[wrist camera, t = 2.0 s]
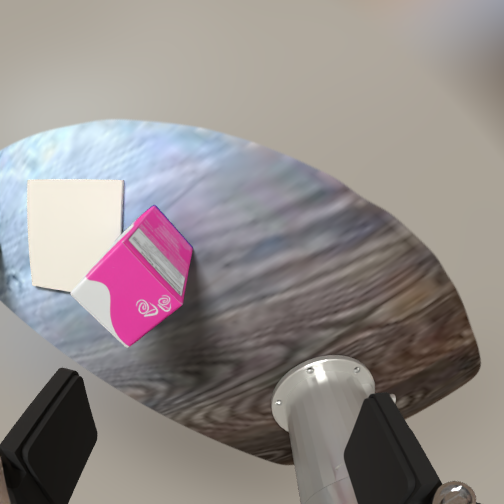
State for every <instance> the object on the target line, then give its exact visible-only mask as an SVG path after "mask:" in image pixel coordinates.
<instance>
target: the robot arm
mask: <svg viewBox="0 0 504 504" xmlns="http://www.w3.org/2000/svg"><path fill="white" fill-rule="evenodd" d="M395 402H396V397H395V395H394V394H392V395H389V393H387V392H386V393H375V383H374V380H373V377H372V375H371V373H370V371H369V370H368V369H367V368H366V366H365V365H364V364H362V363H361V362H359V361H358V360H356V359H353V358H351V357H347V356H341V355H328V356H321V357H317V358H314V359H310V360H308V361H306V362H303V363H301V364H299V365H297V366H296V367H294V368H293V369H291V370H290V371H289V372H288V373H287V374H285V375H284V376H283V377H282V378H281V380H280V381H279V382H278V384H277V385H276V387H275V389H274V391H273V394H272V399H271V407H272V413H273V416H274V418H275V421H276V422H277V423H278V424H279V426H280V427H282V428H283V429H284V430H286V431H288V432H289V435H290V441H291V447H292V453H293V459H294V465H295V471H296V477H297V483H298V490H299V496H300V502H301V504H480V503H477V502H476V495H475V493H474V491H473V489H472V488H471V487H470V486H468V485H467V484H465V483H463V482H459V481H450V482H447V483H444V484H442V483H441V481H440V479H439V477H438V475H437V474H436V472H435V470H434V468H433V467H432V465H431V463H430V461H429V459H428V458H427V456H426V454H425V452H424V451H423V449H422V448H421V445H420V444H419V442H418V440H417V439H416V437H415V435H414V433H413V432H412V430H411V429H410V428H409V426H408V425H407V423H406V421H405V420H404V418H403V416H402V415H401V413H400V411H399V409H398V408H397V406H396V404H395ZM96 441H97V430H96V427H95V423H94V420H93V417H92V413H91V409H90V405H89V402H88V398H87V394H86V390H85V386H84V382H83V378H82V377H81V376H79V374H78V372H76V371H73V370H70V369H66V368H60V369H58V371H57V372H56V373H55V374H54V376H53V377H52V378H51V379H50V381H49V382H48V383H47V384H46V385H45V387H44V388H43V389H42V390H41V391H40V393H39V394H38V395H37V396H36V398H35V399H34V400H33V402H32V403H31V404H30V405H29V407H28V408H27V409H26V411H25V412H24V413H23V414H22V416H21V417H20V419H19V420H18V421H17V422H16V424H15V425H14V426H13V428H12V429H11V430H10V432H9V433H8V434H7V436H6V437H5V438H4V440H3V441H2V443H1V444H0V504H68V502H69V500H70V498H71V496H72V493H73V491H74V489H75V486H76V484H77V482H78V480H79V478H80V475H81V473H82V471H83V469H84V467H85V464H86V462H87V460H88V458H89V456H90V454H91V452H92V449H93V447H94V445H95V443H96Z"/></svg>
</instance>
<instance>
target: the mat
mask: <svg viewBox="0 0 504 504" xmlns="http://www.w3.org/2000/svg"><path fill="white" fill-rule="evenodd" d="M123 191H124V180H90V179H43V180H28V183H27V219H28V242H29V256H30V267H31V276H32V285H33V286H39V287H44V288H50V289H56V290H62V291H68V292H71V291H72V290H73V289H74V288H75V287H76V285H77V284H78V283H79V282H80V281H81V279H82V278H83V277H84V276H85V275H86V274H87V272H88V271H89V270H90V269H91V268H92V267H93V266H94V264H95V263H96V262H97V261H98V260H99V259H100V258H101V257H102V255H103V254H104V253H105V252H106V251H107V250H108V249H109V248H110V246H111V245H112V244H113V243H114V242H115V240H116V239H117V238H118V237H119V236H120V235H121V234H122V220H123Z"/></svg>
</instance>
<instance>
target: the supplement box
mask: <svg viewBox="0 0 504 504" xmlns="http://www.w3.org/2000/svg"><path fill="white" fill-rule="evenodd" d="M192 251H193V247H192V246H191V245H190V244H189V243H188V241H187V240H186V239H185V238H184V237H183V236H182V235H181V234H180V232H179V231H178V230H177V229H176V228H175V227H174V225H173V224H172V223H171V222H170V221H169V220H168V219H167V218H166V216H165V215H164V214H163V213H162V212H161V211H160V210H159V209H158V207H157V206H156V205H153V206H152V207H150V208H149V209H148V210H147V211H146V212H144V213H143V214H142V215H141V216H140V217H139V218H138V219H137V220H136V221H135V222H133V223H132V224H131V225H130V226H129V227H128V228H127V229H126V230H125V231H124V232H123V233H122V234H121V235H120V236H119V237H118V238H117V239H116V240H115V242H114V243H113V244H112V245H111V246H110V248H109V249H108V250H107V251H106V252H105V253H104V254H103V255H102V257H101V258H100V259H99V260H98V261H97V262H96V263H95V264H94V266H93V267H92V268H91V269H90V270H89V271H88V272H87V274H86V275H85V276H84V277H83V278H82V279H81V281H80V282H79V283H78V284H77V285H76V287H75V288H74V289H73V290H72V291H71V295H72V296H73V297H74V298H75V299H76V300H77V301H78V302H79V303H80V304H81V305H82V306H83V307H84V308H85V309H86V310H87V311H88V312H89V313H90V314H91V315H92V316H93V317H94V318H95V319H96V320H97V321H99V322H100V323H101V324H102V325H103V326H104V327H105V328H106V329H107V330H108V331H109V332H110V333H111V334H112V335H113V336H114V337H115V338H117V339H118V340H119V341H120V342H121V343H122V344H123V345H124V346H125V347H127V348H129V347H130V346H131V345H133V344H134V343H135V342H136V341H138V340H139V339H140V338H142V337H143V336H144V335H145V334H147V333H148V332H149V331H150V330H152V329H153V328H154V327H155V326H157V325H158V324H159V323H161V322H162V321H163V320H164V319H166V318H167V317H168V316H169V315H171V314H172V313H173V312H174V311H176V310H177V309H178V308H180V307H181V306H182V305H183V300H184V294H185V289H186V283H187V278H188V272H189V266H190V261H191V256H192Z"/></svg>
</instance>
